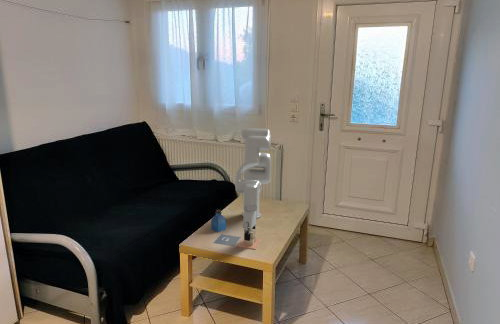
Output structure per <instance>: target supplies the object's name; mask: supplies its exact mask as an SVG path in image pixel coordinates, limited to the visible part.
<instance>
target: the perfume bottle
mask: <svg viewBox="0 0 500 324" xmlns="http://www.w3.org/2000/svg"><path fill="white" fill-rule="evenodd" d="M222 214H223V213H222V209H216V210H215V215H213V217H212V218H211V219H210V221H211V222H210V223H211V224H210V225H211V227H210V228H211V230H212V231H215V232H216V233H220V232H223V231H226V230H227V220H226V218H225V216H224V215H222Z"/></svg>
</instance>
